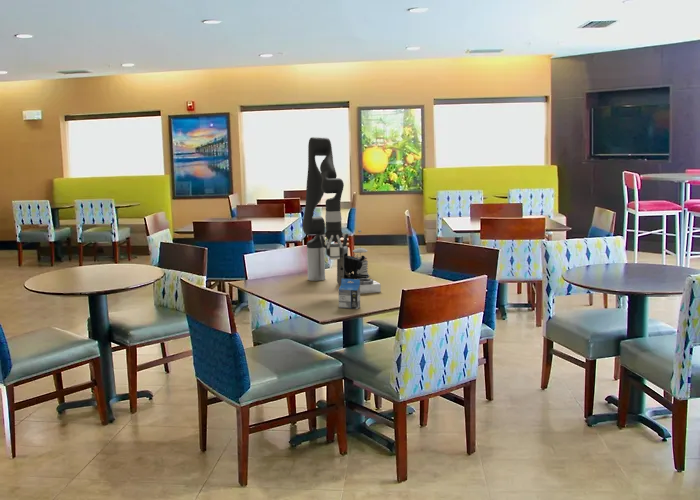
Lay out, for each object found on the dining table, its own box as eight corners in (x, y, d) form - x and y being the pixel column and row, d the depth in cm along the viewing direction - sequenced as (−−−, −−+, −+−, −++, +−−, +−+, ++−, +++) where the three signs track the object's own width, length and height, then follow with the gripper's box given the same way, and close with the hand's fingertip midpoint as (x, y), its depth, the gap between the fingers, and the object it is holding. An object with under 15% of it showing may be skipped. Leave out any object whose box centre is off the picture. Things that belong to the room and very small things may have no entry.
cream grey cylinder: (328, 258, 341) (327, 243, 340) (338, 257, 342) (338, 243, 342) (330, 259, 336) (330, 245, 335) (341, 259, 337) (340, 244, 337)
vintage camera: (366, 286, 355) (367, 247, 352) (336, 285, 358) (336, 246, 355) (369, 283, 364) (370, 245, 361) (340, 281, 367) (341, 243, 364)
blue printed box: (338, 308, 307) (337, 280, 305) (341, 306, 310) (340, 278, 309) (357, 309, 304) (357, 281, 302) (360, 307, 307) (360, 279, 305)
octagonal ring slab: (344, 291, 343) (344, 279, 342) (374, 288, 347) (374, 277, 346) (349, 294, 334) (349, 283, 334) (380, 292, 338) (380, 280, 338)
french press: (373, 275, 384) (372, 229, 380) (362, 278, 374) (361, 231, 371) (357, 273, 389) (356, 228, 386) (346, 277, 379) (345, 230, 376)
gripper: (346, 219, 342) (346, 253, 345) (317, 220, 339) (318, 255, 341) (350, 220, 335) (350, 256, 337) (320, 221, 331) (321, 257, 334)
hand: (334, 255), depth 339 cm, fingers closed on cream grey cylinder, 5 cm apart
